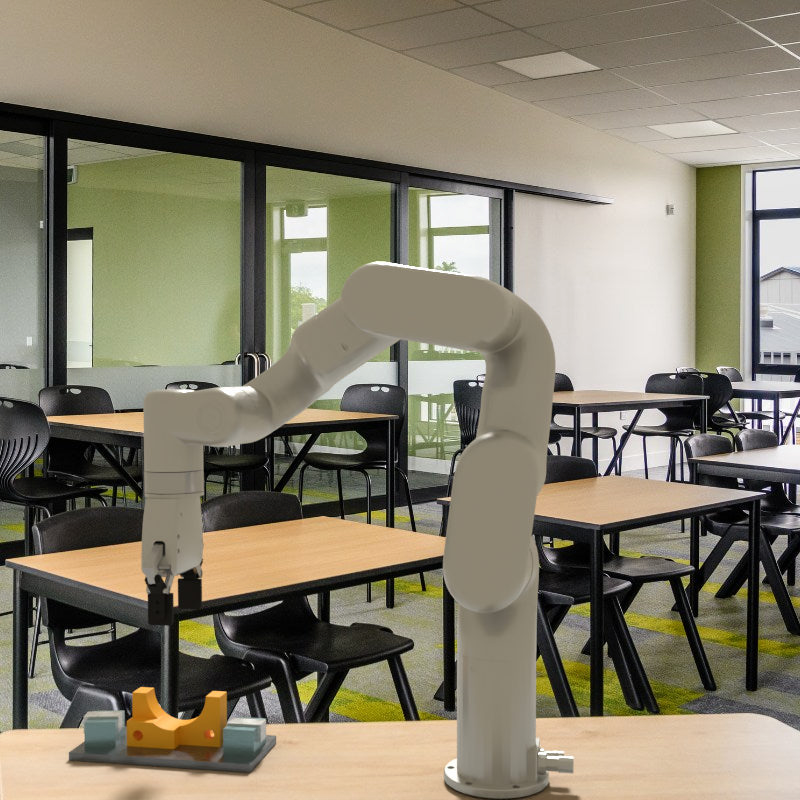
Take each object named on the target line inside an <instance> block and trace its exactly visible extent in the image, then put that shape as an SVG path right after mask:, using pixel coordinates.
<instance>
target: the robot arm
mask: <svg viewBox="0 0 800 800" xmlns="http://www.w3.org/2000/svg"><path fill="white" fill-rule="evenodd" d="M340 294H341V295H340V297H339V298H337V299H335V300H334V301H333V302H332V303H330V304H329V305H327V306H326V307H324V308H323V309H322V310H320V311H319V312H317V313H315V314H314V315H313V316H311V317H310V318H308V319H307V320H305V321H304V322H303V323H301V324H299V325H298V326H297V327H296V329H295V330H294V332H293V333H292V336H291V339H290V343H289V346H288V348H287V350H286V351H285V353H284V354H283V355H282V356H281V357H280V359H278V360H277V361H276V362H275V363H274V364H273V365H271V366H270V367H268V368H267V369H266V370H264V371H263V372H262V373H260V374H259V375H257V376H256V377H254V378H252V379H251V380H249V381H248V382H247V383H245V384H244V385H242V386H224V387H221V386H220V387H219V386H218V387H212V388H211V387H210V388H204V389H198V390H194V389H182V388H181V389H180V388H178V389H175V388H174V389H172V388H171V389H153V390H150V391H148V392H147V393H146V395H144V399H143V406H142V407H143V458H144V459H143V463H144V464H143V465H144V466H143V467H144V469H143V470H144V472H143V475H144V478H143V479H144V498H145V503H144V509H143V510H144V511H143V516H142V517H143V518H142V530H141V531H142V533H141V560H140V561H141V564H140V565H141V566H140V569H141V572H142V574H144V576H145V578H144V582H145V585H146V587H145V592H146V594H147V623H148V624H149V626H172V625H173V624H175V623H174V621H175V614H174V613H175V610H174V607H175V606H174V605H175V604H174V593H173V592H171V589H172V586H173V583H174V578H175V576H180V578H179V577H178V578H177V607H178V608H179V609H180V610H200V609H202V607H203V579H202V577H203V574H204V573H203V569H202V565H203V563H204V558H203V557H204V556H203V554H204V544H205V543H204V535H203V533H204V532H203V518H202V514H203V513H202V506H201V497H202V496H205V492H204V491H205V488H204V487H205V483H204V478H205V477H204V446H206V447H207V446H208V447H213V448H225V447H226V448H227V447H231V446H232V447H233V446H237V445H243V444H251V443H254V442H257V441H259V440H261V439H264V438H265V437H267V436H269V435H270V434H272V433H273V432H274V431H276V430H278V429H279V428H281V427H282V426H283V425H285V424H286V423H288V422H289V421H292V419H294V418H295V417H297V416H299V415H300V414H301V413H302V412H304V411H305V410H307V409H308V408H309V407H310V406H311V405H313V404H314V403H315V402H317V401H318V400H319V399H320V398H321V397H322V396H323V395H325V394H326V393H328V392H329V391H330V390H331V389H332V388H333V386H335V385H336V384H337V383H339V382H340V381H342V380H343V379H344V378H346V377H347V376H349V375H350V374H352V373H353V372H354V371H356V370H358V369H359V368H361V367H362V366H364V365H365V364H366V363H367V362H369V361H371V360H372V359H374V358H375V357H376V356H378V355H379V354H381V353H382V352H384V351H386V350H387V349H388V348H390V347H392V346H393V345H394V344H396V343H397V342H399V341H400V340H401V341H407V342H408V341H409V342H413V343H421V344H426V345H432V346H439V347H446V348H451V349H457V350H462V351H469V352H474V353H480V354H481V355H482V357H483V359H484V362H485V376H484V382H483V385H482V391H481V397H480V398H481V399H480V412H479V417H478V418H479V419H478V425H477V432H476V435H475V436H476V437H475V438H474V439H473V440H472V441H471V442H470V443H469V444H467V446H466V447H465V448H464V450H463V451H462V453H461V455H460V456H459V458H458V461H457V463H456V466H455V470H454V474H453V478H452V479H453V480H452V486H451V487H452V488H451V494H450V495H451V496H450V500H449V501H450V502H449V510H448V518H447V526H446V532H445V534H446V535H445V541H444V549H443V559H442V576H443V579H444V583H445V585H446V588H447V590H448V592H449V594H450V595H451V596H452V598H453V599H454V600H455V602H456V603H458V605H457V606H458V608H457V626H456V631H457V632H456V637H457V638H456V643H457V644H456V647H457V648H456V758H454V759H452V760H450V761H449V762H447V764H446V765H445V766H444V768H443V780H444V782H445V784H447V786H449V787H450V788H451V789H453V790H455V791H457V792H459V793H462V794H465V795H469V796H473V797H476V798H477V797H478V798H484V799H500V800H504V799H507V800H508V799H516V798H523V797H528V796H531V795H534V794H537V793H539V792H542V791H543V790H544V789H545V788H546V787H547V786H548V784H549V779H550V773H549V772H557V773H560V774H574V769H575V768H574V765H575V762H574V761H575V759H574V756H570V755H569V756H568V755H567V756H566V755H565V751H564V750H545V749H546V748H545V747H541V746H540V743H541V741H540V739H541V738H540V737H539V736H538V737H537V635H538V634H537V630H538V629H537V623H538V621H537V620H538V597H539V594H538V593H539V582H540V581H539V580H540V578H539V577H540V575H539V574H540V559H539V551H538V547H537V544H536V542H535V540H534V538H533V537H532V535H533V530H534V529H533V528H534V519H535V512H536V506H537V498H538V495H539V494H540V493H541V491H542V489H543V487H544V486H545V482H546V478H547V477H546V476H547V459H548V447H549V438H550V432H551V431H550V430H551V422H552V413H553V401H554V390H555V380H556V353H555V347H554V343H553V339H552V337H551V333H550V331H549V329H548V327H547V325H546V323H545V322H544V320H543V318H542V317H541V316H540V315H539V314H538V313H537V311H536V310H535V309H534V308H533V307H531V305H529V304H528V303H527V302H526V301H524V300H523V299H522V298H521V297H520V296H518V295H517V294H515V292H513V291H511V290H509V289H507V288H506V287H504V286H502V285H501V284H498V283H496V282H494V281H492V280H490V279H488V278H486V277H482V276H478V275H472V274H465V273H460V272H459V273H458V272H451V271H446V270H445V271H443V270H437V269H431V268H430V269H429V268H423V267H416V266H409V265H403V264H398V263H392V262H387V261H373V262H369V263H365V264H363V265H361V266H358V267H357V268H356V269H355V270H353V272H351V274H349V276H348V277H347V279H346V280H345V282H344V284H343V287H342V289H341V293H340ZM163 578H165V580H163Z"/></svg>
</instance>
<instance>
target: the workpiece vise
mask: <svg viewBox="0 0 800 800" xmlns="http://www.w3.org/2000/svg"><path fill="white" fill-rule="evenodd" d="M125 713H126V712H125V710H119V709H118V710H115V709H114V710H112V709H111V710H109V709H107V710H93V711H87V712H86V714H84V715H83V734H84V741H83V742H82V743H80V744H78V745H77V746H76V747H74V748H73V749H72V750H70V751H68V761H76V762H77V761H79V762H88V763H89V762H90V763H91V762H92V763H104V764H119V765H131V766H132V765H134V766H148V767H163V768H175V769H176V768H178V769H179V768H180V769H188V770H189V769H190V770H191V769H192V770H193V769H194V770H202V771H203V770H204V771H205V770H206V771H219V772H221V771H222V772H232V773H233V772H234V773H235V772H236V773H247V774H250V773H251V772H253V770H254V769H255V767H256V766H257V765H258V764H260V762H261V761H262V760H263V759H264V758H265V756H267V754H268V753H269V752H270V751H271V750H272V748H273V747H274V746H276V744H277V735H274V734H273V735H271V734H267V719H266V718H263V717H249V716H248V717H247V716H236V717H232V718H231V719H230V720H228V721H227V726H226V727H225V728H224V729H223V745H222V746H221V747H210V746H194V745H178V746H177V747H176V748H175V749H165V748H149V747H134V746H127V725H126V724H125V722H126V721H125V720H126V719H125V718H126V717H125ZM212 732H213V731H212ZM213 733H214V732H213Z"/></svg>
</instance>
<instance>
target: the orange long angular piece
mask: <svg viewBox="0 0 800 800" xmlns="http://www.w3.org/2000/svg"><path fill="white" fill-rule="evenodd" d="M131 694H132V701H131V703H132V709H131V710H132V717H130V718H129V719H128V720H126V726H127V746H134V747H149V748H165V749H175V748H176V747H177V746H178V745H194V746H210V747H221V746H222V745H223V729H224V728H225V727H226V726H227V723H228V700H227V699H228V693H227V691H223V690H222V691H221V690H212V691H211V692H209V693H208V694H207V695H206V696H205V701H204V707H203V709H202V711H201V713H200V714H199V716H196V717H195V718H191V719H181V718H177V717H174V716H171V715H170V714H169V713H167V712H166V711H165V710H164V709H163V708H162V707H161V705H160V704H159V702H158V699H157V696H156V691H155V687H148V686H147V687H146V686H140V687H139V688H137V689H135V690H134V691H133V692H132V693H131ZM213 732H214V733H213Z"/></svg>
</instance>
